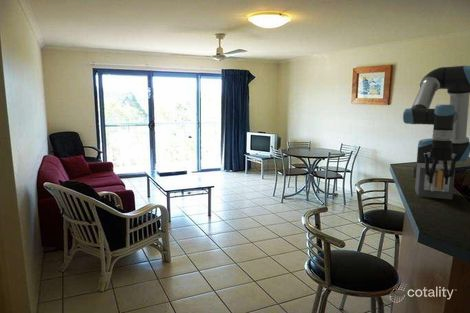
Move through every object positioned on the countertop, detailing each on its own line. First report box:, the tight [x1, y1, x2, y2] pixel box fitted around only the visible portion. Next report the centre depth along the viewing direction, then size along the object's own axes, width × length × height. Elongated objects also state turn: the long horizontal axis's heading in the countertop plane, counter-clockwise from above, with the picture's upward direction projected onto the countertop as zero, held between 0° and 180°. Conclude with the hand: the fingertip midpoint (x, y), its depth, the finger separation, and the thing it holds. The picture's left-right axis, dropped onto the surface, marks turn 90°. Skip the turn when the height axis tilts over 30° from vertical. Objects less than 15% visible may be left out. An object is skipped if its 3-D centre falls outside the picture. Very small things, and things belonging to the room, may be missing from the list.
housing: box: [414, 162, 456, 200], centre depth 163 cm, size 14×14×14 cm
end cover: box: [424, 169, 450, 192], centre depth 158 cm, size 19×10×10 cm, turn 158°
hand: (437, 190), depth 153 cm, fingers open, 3 cm apart
